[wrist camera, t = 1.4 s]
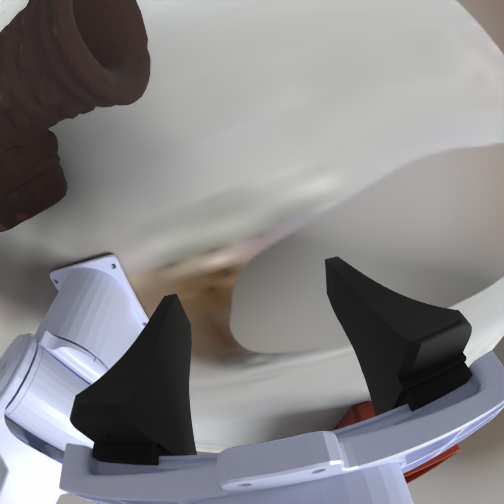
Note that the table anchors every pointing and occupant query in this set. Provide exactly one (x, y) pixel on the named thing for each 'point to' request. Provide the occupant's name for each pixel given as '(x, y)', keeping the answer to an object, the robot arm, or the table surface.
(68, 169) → the table surface
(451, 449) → the plant pot
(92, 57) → the dark brown rounded piece
